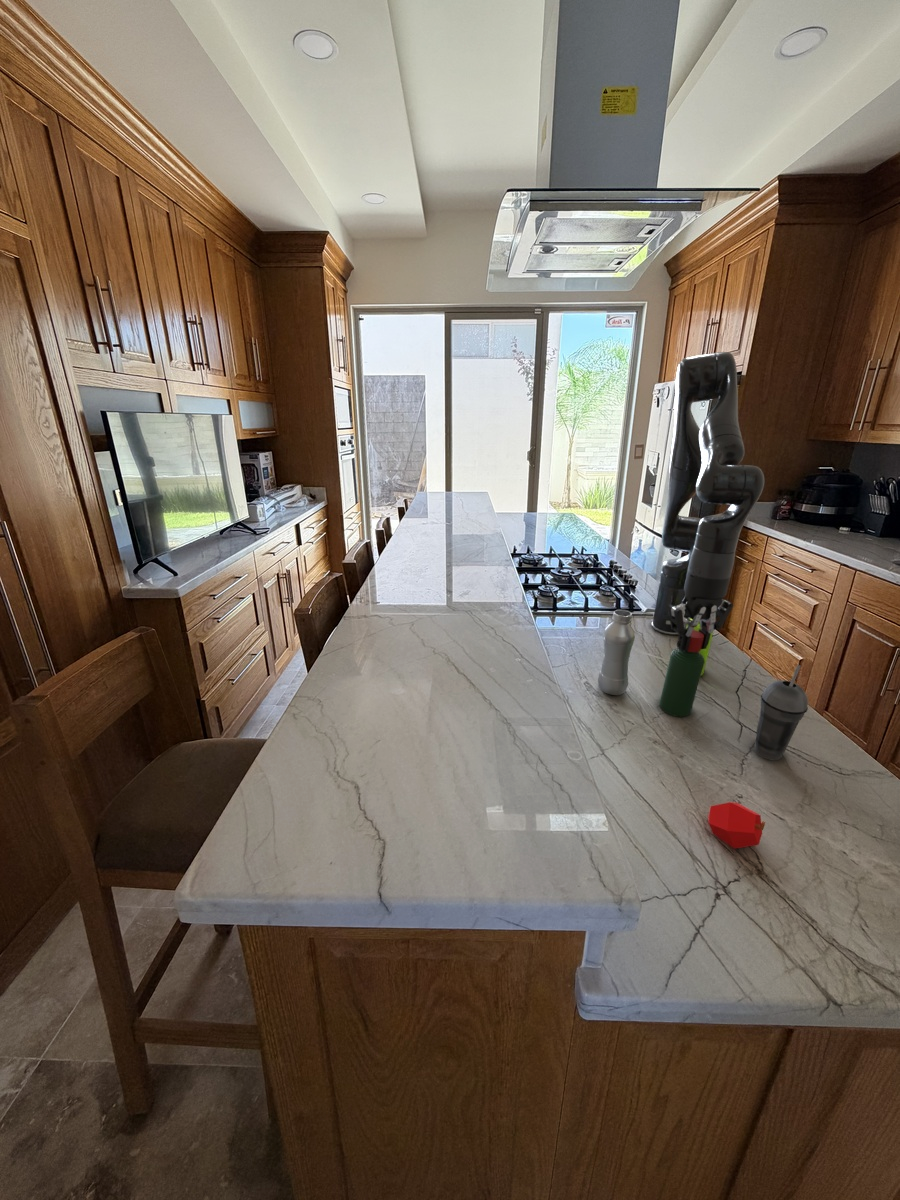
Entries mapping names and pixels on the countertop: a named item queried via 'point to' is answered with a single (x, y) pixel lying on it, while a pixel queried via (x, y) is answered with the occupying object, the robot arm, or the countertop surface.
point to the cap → (696, 641)
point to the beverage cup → (779, 716)
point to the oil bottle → (681, 682)
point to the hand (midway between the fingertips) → (691, 648)
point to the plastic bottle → (616, 654)
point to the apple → (736, 824)
